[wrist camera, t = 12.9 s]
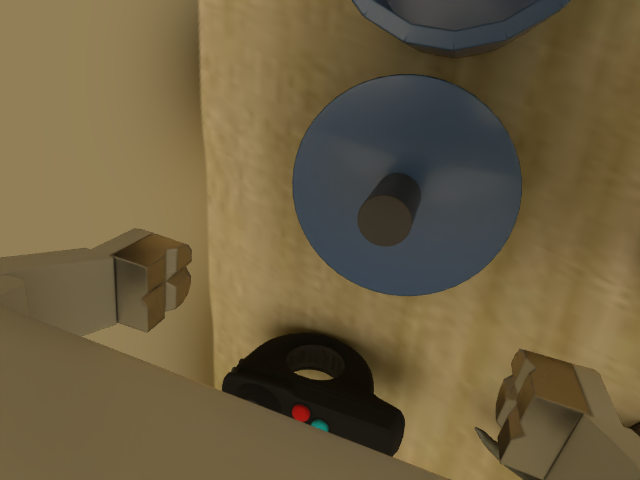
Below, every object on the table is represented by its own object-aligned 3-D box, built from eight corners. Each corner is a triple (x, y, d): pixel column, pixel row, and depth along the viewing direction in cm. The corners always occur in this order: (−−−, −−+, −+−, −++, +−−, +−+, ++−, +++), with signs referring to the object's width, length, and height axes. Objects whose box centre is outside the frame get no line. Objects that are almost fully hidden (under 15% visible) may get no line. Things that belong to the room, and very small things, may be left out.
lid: (316, 54, 22) (274, 49, 17) (556, 99, 20) (589, 108, 15) (286, 255, 27) (246, 297, 22) (476, 312, 25) (480, 373, 20)
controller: (267, 309, 35) (201, 390, 26) (418, 351, 32) (402, 458, 23) (264, 352, 37) (200, 441, 28) (407, 395, 34) (388, 511, 25)
